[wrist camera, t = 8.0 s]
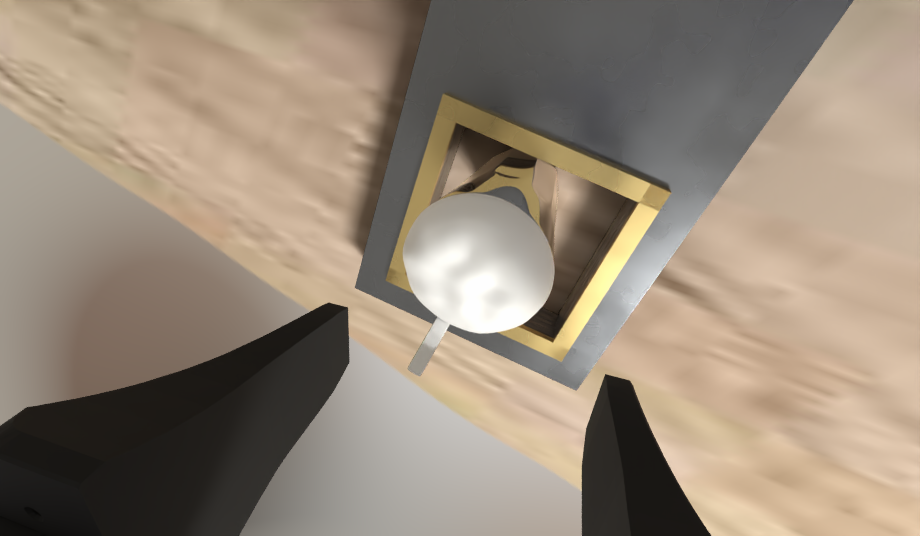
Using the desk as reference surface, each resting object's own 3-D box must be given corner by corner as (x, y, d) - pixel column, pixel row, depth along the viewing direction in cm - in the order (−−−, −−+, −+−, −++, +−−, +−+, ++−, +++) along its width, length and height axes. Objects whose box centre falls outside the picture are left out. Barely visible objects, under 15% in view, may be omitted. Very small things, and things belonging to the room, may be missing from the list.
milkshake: (447, 211, 22) (347, 333, 14) (502, 109, 20) (416, 187, 11) (529, 260, 22) (478, 412, 14) (596, 166, 20) (581, 287, 11)
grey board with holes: (1107, -412, 11) (1218, -505, 9) (578, 364, 25) (576, 394, 23) (611, -579, 11) (611, -699, 9) (372, 268, 25) (352, 290, 23)
